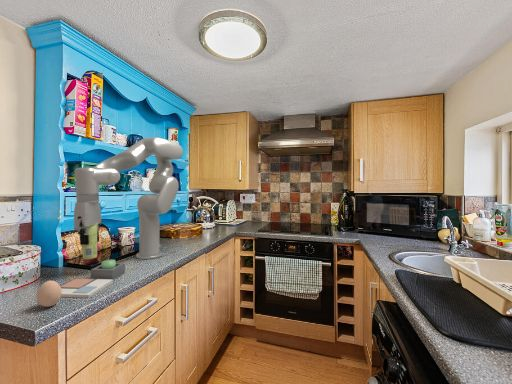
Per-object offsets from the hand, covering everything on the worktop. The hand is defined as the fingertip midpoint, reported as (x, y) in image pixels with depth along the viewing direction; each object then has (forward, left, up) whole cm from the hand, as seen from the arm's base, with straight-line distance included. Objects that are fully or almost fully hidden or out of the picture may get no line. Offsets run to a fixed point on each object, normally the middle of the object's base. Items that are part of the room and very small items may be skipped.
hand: (89, 242), depth 102 cm
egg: (+27, +7, -13) cm, 31 cm away
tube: (0, 0, -7) cm, 7 cm away
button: (+3, +10, -11) cm, 15 cm away
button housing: (+3, +10, -13) cm, 16 cm away
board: (+15, +8, -13) cm, 21 cm away
